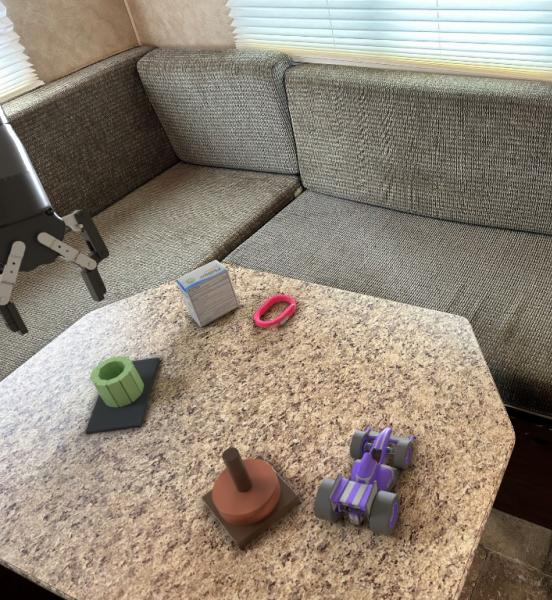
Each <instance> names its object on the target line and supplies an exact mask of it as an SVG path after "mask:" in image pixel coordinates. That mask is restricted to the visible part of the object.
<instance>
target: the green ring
mask: <svg viewBox="0 0 552 600" xmlns="http://www.w3.org/2000/svg"><path fill="white" fill-rule="evenodd" d="M132 361H133V360H131V358H130V357H128V356H124V355H117V356H116V355H115V356H112V357H109V358H106V359H104V360H102V361H100V363H98V364H97V365H96V366H95V367H93V369H92V371H91V374H90V376H89V378H90V379H89V380H90V381H91V383H92V385H93V386H94V388H95V389H96V391H97V393H98V395H99V394H100V396H101V397H102V399H103V401H104V402H105V403H106V405H107V406H109V407H119V406H120V407H122V406H125V405H128V404H131V402H134V401H135V400H136V399H137V398H138V397H139V396H140V395H141V393H142V392H143V388H144V383H143V381H142V379H141V377H140V376H139V374H138V372H137V370H136V368H135V366H134V364H133V363H132Z"/></svg>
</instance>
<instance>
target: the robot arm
mask: <svg viewBox="0 0 552 600" xmlns="http://www.w3.org/2000/svg"><path fill="white" fill-rule="evenodd" d="M67 227H69V228H70V229H71V230H72V231H73V232H79V234H80V236H81V238H82V240H83V241H84V243H85V245H86V247H87V249H88V251H89V253H88V254H87V255H85V254H84V253H82V252H80V250H78V249H76V248H74V247H73V246H70V245H69V244H66V243H65V242H64V239H65V234H66V230H67ZM109 256H110V250H109V249H108V246H107V245H106V243H105V241H104V238H103V237H102V236H101V233H100V231H99V230H98V228H97V226H96V223H95V222H94V220H93V218H92V216H91V214H90V213H89V211H88V210H86V209H76V210H72V211H71V213H69V214H67V215H64V216H62V217H61V216H59V215H58V214H57V213H56V212H55V210H54V208H53V206H52V204H51V202H50V198H49V197H48V195H47V193H46V190H45V189H44V186H43V185H42V182H41V179H40V178H39V176H38V173H37V172H36V169H35V167H34V165H33V163H32V161H31V158H30V156H29V155H28V153H27V150H26V149H25V146H24V144H23V143H22V141H21V140H20V138H19V136H18V135H17V133H16V131H15V129H14V128H13V126H12V125H11V124H10V120H9V118H8V116H7V114H6V111H5V110H4V107H3V105H2V103H1V102H0V318H1V320H2V321H3V323H4V325H5V327H6V329H8V331H10V332H12V333H17V334H18V335H19V336H24V335H26V334H29V329H28V327H27V325H26V323H25V322H24V320H23V318H22V316H21V314H20V312H19V310H18V308H17V306H16V304H15V302H14V301H11V300H10V299H11V296H12V292H13V288H14V285H15V284H16V282H17V279H18V274H19V273H29V272H31V271H34V270H36V269H37V268H38V267H40V266H43V265H50V264H52V263H55V262H56V260H57V259H58V258H60V259H62V260H64V261H66V262H69V263H70V264H73V265H75V266H76V267H79V268H80V269H81V271H80V272H79V273H80V275H81V278H82V280H83V282H84V284H85V286H86V288H87V290H88V293H89V295H90V297H91V299H92V300H93V302H97V303H101V302H102V301H105V300H106V297H105V294H107V288H106V285H105V283H104V281H103V278H102V276H101V274H100V271H99V270H98V266H99V264H100V263H101V262H103V260H105V259H108V258H109Z"/></svg>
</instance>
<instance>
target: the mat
mask: <svg viewBox="0 0 552 600" xmlns="http://www.w3.org/2000/svg"><path fill="white" fill-rule="evenodd" d="M131 361H132V363H133V364H134V366H135V368H136V370H137V372H138V374H139V376H140V377H141V379H142V381H143V383H144V388H143V392H142V393H141V395H140V396H139V397H138V398H137V399H136V400H135V401H134V402H131V404H128V405H125V406H122V407H120V406H119V407H109V406H107V405H106V403H105V402H104V401H103V399H102V397H101V396H100V394H99V393H98V397H97V399H96V402H95V404H94V407H93V410H92V412H91V415H90V418H89V421H88V424H87V425H86V428H85V434H86V435H92V434H98V433H99V434H100V433H107V432H112V431H113V432H114V431H120V430H121V431H122V430H127V429H136V428H141V427H142V424H143V421H144V417H145V414H146V411H147V407H148V404H149V400H150V397H151V393H152V389H153V387H154V383H155V379H156V376H157V372H158V368H159V365H160V363H161V358H160V357H153V358H145V359H144V358H143V359H137V360H131Z"/></svg>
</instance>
